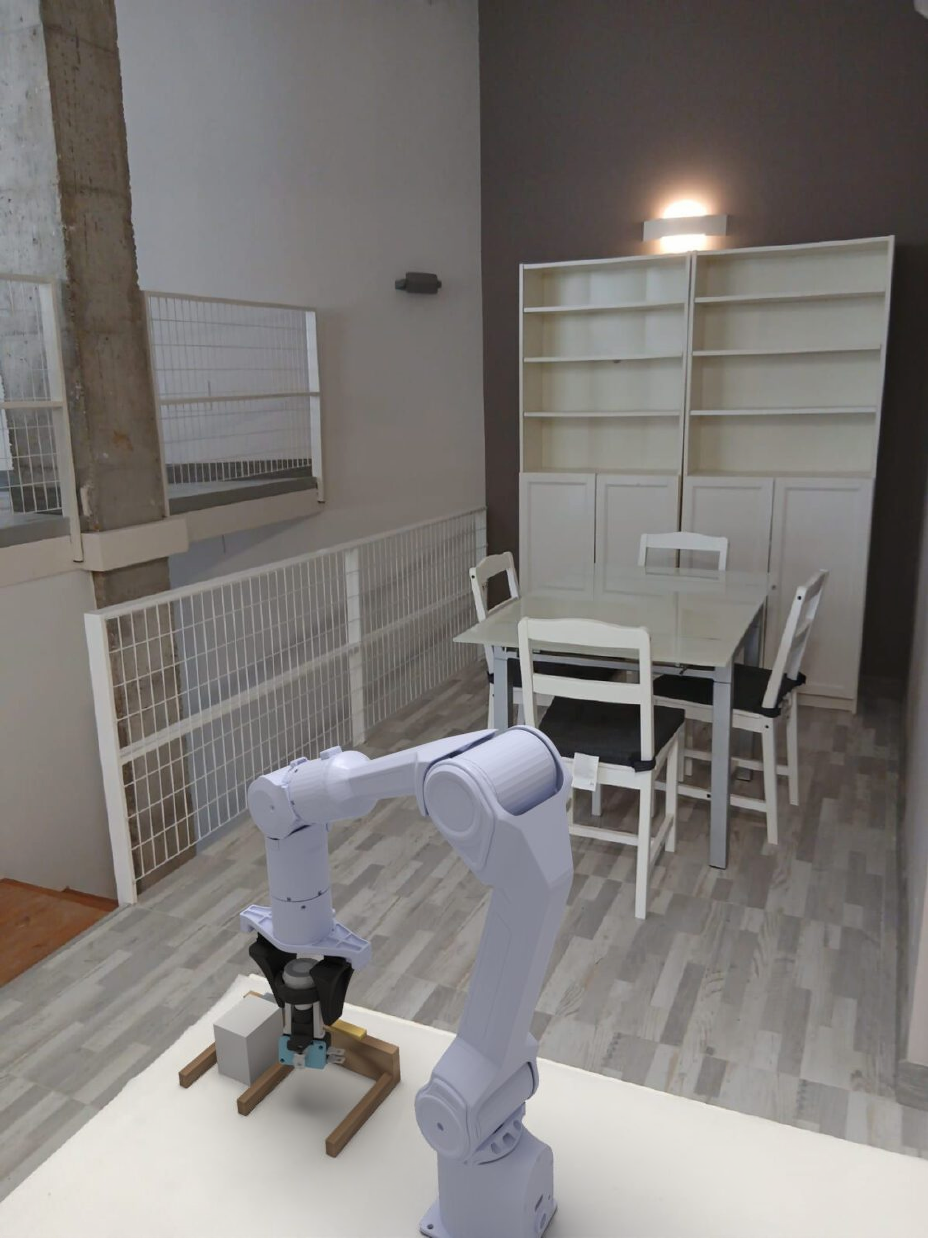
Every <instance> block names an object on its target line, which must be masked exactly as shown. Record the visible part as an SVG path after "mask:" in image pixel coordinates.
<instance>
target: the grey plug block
mask: <svg viewBox="0 0 928 1238" xmlns="http://www.w3.org/2000/svg"><path fill="white" fill-rule="evenodd" d="M212 1026H213V1035H214V1042H215V1046H216V1055H217V1062H216V1063H217V1071H218V1073H219V1074H221V1075H223V1076H226V1077H228V1078H230V1079H232V1080H235V1081H237V1082H238V1083H241V1084H243V1085H245V1086H247V1087H250V1086H251V1085H252V1084H253V1083H254V1082H256V1081H257V1080H258V1079H259V1078H260V1077H261V1076H262V1075H263V1074H264V1073H265V1072H266V1071H267V1070H268V1069H269V1068H270V1067H271V1066H272V1065H273V1064H274V1063H276V1062H277V1061H278V1060H279V1039H280V1038H281V1036H282V1035H283V1033H284V1032H283V1017H282V1008H280V1007H278V1005H277V1004H275V1003H272V1002H270V1001H267V1000H264V999H262V998H259V997H257V996H254V995H252V994H249V995H247V996H246V997H245V998H243V999H241V1000H240V1001H239V1002H238V1003H237V1004H235V1005H234V1006H233V1007H231V1008H230V1009H229V1010H228V1011H227V1012H226V1013H224V1014H223V1015H222V1016H221V1017H219V1018H218V1019H217V1020H216V1021H215V1022H213V1023H212Z"/></svg>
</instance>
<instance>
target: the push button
mask: <svg viewBox="0 0 928 1238" xmlns="http://www.w3.org/2000/svg"><path fill="white" fill-rule="evenodd" d="M319 961H320V960H318V959H314V958H313V957H299V958H297V959H295V960H292V961H290V962H289V963H287V965H285V967H284V968H283V969H282V970H280V971H279V972H278V973H277V975H276V977H275V986H276V988H277V989H278V996H279V997H280V998H281V999H282V1000H283V1001H284V1002H285V1022H286V1026H285V1027H284V1029H283V1032H284V1033H283V1035H282V1036H281V1038H280V1039H279V1062H280V1063H281V1064H287V1065H294V1067H295V1069H296V1070H301V1071H304V1070H305V1069H306V1068H309V1069H316V1070H324V1069H325V1067H326V1066H327V1063H328V1064H332V1063H333V1062H334V1063H333V1064H335V1063H341V1064H342V1063H343V1062H344V1060H345V1058H342V1057H335V1055H332V1054H337V1055H343V1053H344V1051H345V1050H344V1049H338V1048H335V1047H331V1033H330V1032H325V1030H323V1024H322V1015H321V1006H320V999H319V995H318V991H317V988H316V985H315V983H314V981H313V979H312V978H311V976H310V975H309V970H310V969H311V968H312V967H313V966H315V965H316V964H317V963H318V962H319ZM337 1051H341V1052H340V1053H338V1052H337ZM338 1059H341V1061H337V1060H338Z"/></svg>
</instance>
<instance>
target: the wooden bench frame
mask: <svg viewBox="0 0 928 1238" xmlns="http://www.w3.org/2000/svg"><path fill="white" fill-rule="evenodd" d="M249 994H252V995H254V996H257V997H259V998H262V999H264V1000H267V1001H270V1002H272V1003H275V1004H277V1002H276V1000H275V997H274V995H273V993H272V992H271V993H270V992H268V991H267V992H266V993H264V994H262V993H259V992H256V991H254V990H249V991H248V992H247V993H246V994H244V995H243V999H244V998H245V997H246V996H247V995H249ZM282 1017H283V1029H284V1027H285V1026H286V1022H285V1008H284V1009H282ZM322 1024H323V1030H325V1032H330V1033H331V1047H335V1048H338V1049H344V1050H345V1051H344V1053H343V1055H337V1054H332V1055H335V1057H342V1058H345V1060H344V1062H343V1063H342V1064H341V1063H334V1062H332V1063H333V1064H336V1065H338V1066H340V1067H342V1068H345V1069H347V1070H351V1071H353V1072H356V1073H357V1074H360V1075H363V1076H365V1077H367V1078H369V1079H373V1080H375V1081H376V1082H375V1083H374V1084H373V1085H372V1086H371V1088H370V1089H369V1090H368V1091H367V1092H366V1093H365V1094H364V1096H363V1097H362V1098H361V1099H360V1100H359V1101H358V1102H357V1104H355V1106H354V1107H353V1108H352V1109H351V1110H350V1112H349V1113H348V1114H347V1115H346V1116H345V1117H344V1118H343V1120H342V1121H340V1123H339V1124H338V1125H337V1126H336V1127H335V1128H334V1130H333V1131H332V1132H331V1133H330V1134H329V1135H328V1136H327V1137H326V1138H325V1140H324V1142H325V1154H326V1155H328V1156H330V1157H333V1158H336V1157H337V1156H338V1155H339V1153H340V1152H341V1151H342V1150H343V1149H344V1148H345V1147H346V1145H347V1144H348V1143H349V1142H350V1141H351V1140H352V1138H353V1137H354V1136H355V1134H356V1133H357V1132H359V1130H360V1129H361V1128H362V1127H363V1125H364V1124H365V1123H366V1122H367V1120H369V1118H370V1117H371V1115H373V1113H374V1112H375V1111H376V1110H377V1109H378V1108H379V1106H380V1105H381V1104H382V1103H383V1102H384V1100H385V1099H386V1098H387V1097H388V1096H389V1094H391V1092H392V1091H393V1090H394V1088H396V1086H398V1084H399V1083H400V1082H401V1079H402V1078H401V1059H400V1046H399V1045H395V1044H392V1043H390V1042H387V1041H385V1040H382V1039H381V1038H376V1037H374V1036H372V1035H369V1034H368V1031H367V1029H366V1028H363V1027H361V1026H358V1025H355V1024H353V1023H350V1022H347V1021H345V1020H343V1019H340V1018H339V1019H338V1020H337V1021H336V1022H335V1023H334V1024H333V1025H332V1026H327V1025H324V1022H323V1019H322ZM337 1052H338V1053H340V1052H341V1051H337ZM337 1061H341V1059H338V1060H337ZM216 1063H217V1055H216V1046H215V1041H214V1042H213V1043H212V1044H210V1045H209V1046H207V1048H205V1049H204V1050H203V1051H202V1052H201V1053H200V1054H198V1055H197V1056H196V1057H195V1058H194V1059H193V1060H192V1061H190V1062H189V1063H188V1064H187V1065H186V1066H184V1067H183V1068H182V1069H181V1070H180V1071H178V1080H179V1081H178V1082H179V1086H182V1087H184V1088H185V1089H188V1088H189V1087H190V1086H191V1085H192V1084H193V1083H195V1081H197V1080H198V1079H199V1078H200V1077H201V1076H202V1075H204V1074H205V1073H206V1072H207V1071H208V1070H210V1069H211V1068H212V1067H213V1066H214V1065H215V1064H216ZM294 1068H295V1067H294V1065H287V1064H281V1063H280V1062H279V1060H278V1061H277V1062H276V1063H274V1064H273V1065H272V1066H271V1067H270V1068H269V1069H268V1070H267V1071H266V1072H265V1073H264V1074H263V1075H262V1076H261V1077H260V1078H259V1079H258V1080H257V1081H256V1082H254V1083H253V1084H252V1085H251V1086H248V1088H247V1089H246V1090H245V1091H244V1092H242V1094H241V1095H240V1096H239V1097H238V1098H237V1099H236V1106H237V1107H236V1109H237V1113H239V1114H241V1115H243V1116H247V1115H248V1114H249V1113H250V1112H251V1111H252V1110H253V1109H254V1108H255V1107H257V1105H258V1104H259V1103H260V1102H261V1101H263V1099H264V1098H265V1097H266V1096H267V1095H269V1093H270V1092H271V1091H272V1090H273V1089H274V1088H275V1087H277V1086H278V1084H279V1083H280V1082H282V1081H283V1079H285V1077H287V1075H289V1074H290V1073H291V1072H292V1071H293V1070H294ZM295 1069H296V1068H295Z"/></svg>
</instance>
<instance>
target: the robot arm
mask: <svg viewBox="0 0 928 1238" xmlns="http://www.w3.org/2000/svg"><path fill="white" fill-rule="evenodd" d="M499 730H500V729H499V728H488V729H487V728H486V729H482V730H481V729H480V730H476V731H471V732H468V733H464V734H458V735H452V736H449V737H445V738H439V739H437V740H435V741H434V740H433V741H431V742H426V743H424V744H421V745H417V746H413V747H411V748H408V749H407V748H406V749H403V750H401V751H398V752H397V751H396V752H394V753H389V754H386V755H383V756H380V757H377V758H374V759H370V758H369V756H367V755H366V754H364V753H362V752H360V751H357V750H344V751H343V750H342V747H341V746H340V745H337V746H332V747H330V748H328V749H324V750H322V751H320V752H319V757H318V758H315V759H308V758H307V757H306V756H301V757H298V758H296V759H294V760H291V761H290V762H289V765H287V766H284V767H282V768H279V769H277V770H274V771H272V772H270V773H267V774H263V775H259V776H258V777H257V778H256V779H255V780H253V781H252V782H251V783H250V784H249V786H248V788H247V789H248V790H247V797H246V799H247V807H248V810H249V814H250V816H251V819H252V821H253V823H254V824H255V825H256V826H257V828H258V830H260V832H261V833H262V834H263V835H264V837H263V838H264V844H265V845H264V846H265V847H264V849H265V856H266V859H265V860H266V870H267V878H268V879H267V881H268V889H269V891H268V892H269V901H270V906H269V907H268V906H261V905H256V904H251V905H250V906H248V907H247V908H245V909H244V910H243V911H241V912H240V913H239V922H240V923H239V925H240V931H241V932H244V933H247V934H250V933H252V932H253V931H255V932H256V934H257V937H256V939H255V941H253V943H252V944H251V945H250V946H249V947H248V955H249V957H251V959H252V960H253V961H254V962H255V963H256V965H257V966H258V967H259V969H260V970H261V971H262V973H263V976H264V977H265V979H266V981H267V983H268V985H269V988H270V991H271V993H272V994H273V995H274V997H275V1000H276V1002H277V1005H278V1007H280V1008H282V1009H284V1008H285V1002H284V1001H283V1000H282V999H281V998H280V997H279V996H278V989H277V988H276V986H275V977H276V975H277V973H278V972H279V971H280V970H282V969H283V968H284V967H285V965H287V963H289V962H290V961H292V960H295V959H298V958H297V957H298V954H301V955H302V954H303V955H304V954H305V955H314V956H315V955H318V956H323V958H322V959H321V960H318V961H319V962H318V963H317V964H316V965H315V966H313V967H312V968H311V969H310V970H309V975H310V976H311V978H312V979H313V981H314V983H315V985H316V988H317V991H318V995H319V999H320V1006H321V1015H322V1019H323V1022H324V1025H327V1026H332V1025H333V1024H334V1023H335V1022H336V1021H337V1020H338V1019H340V1018H341V1017H342V1015H343V1011H344V1007H345V1005H344V1004H345V1000H346V996H347V991H348V988H349V985H350V981H351V980H352V976H353V974H354V971H355V970H356V971H359V972H362V970H363V969H364V968H366V967H367V966H368V965H369V963H371V962H372V961H373V950H372V949H373V948H372V942H371V941H369V940H366V939H363V938H362V937H360V936H359V935H357V934H355V933H354V932H353V931H351V929H349V928H347V926H345V925H343V924H342V923H341V922H340V921H338V920H337V919H335V918H336V916H337V915H336V914H337V913H336V909H335V908H333V900H332V899H333V898H332V886H331V885H332V884H331V875H330V874H331V873H330V860H329V859H330V858H329V844H328V835H329V834H330V833H331V830H332V831H333V823H334V822H340V821H346V820H347V821H348V820H352V819H358V818H362V817H364V816H366V815H368V814H369V813H370V812H372V810H373V809H374V808H375V806H376V805H377V803H378V801H379V800H384V799H385V800H386V799H391V798H402V797H409V796H415V799H416V803H417V806H418V809H419V812H420V815H421V816H422V817H424V818H428V817H429V818H430V819H431V821H432V822H433V824H434V826H435V827H436V828H437V830H438V831H439V832H440V833H439V834H441V835H442V836H443V838H444V839H445V840H446V841H447V843H448V844H449V845H450V846H451V848H452V849H453V850H454V851H455V852H456V853H457V855H458V856H459V857H460V859H461V860H462V861H463V862H464V864H465V865H466V866H467V868H469V870H470V871H471V873H472V874H473V875H474V876H475V877H476V878H477V880H478V881H479V882H480V883H481V884H483V885H488V886H493V888H492V893H491V896H490V897H491V898H490V901H489V905H488V910H487V914H486V915H485V916H486V917H485V921H484V924H483V929H482V933H481V937H480V941H479V945H478V948H477V953H476V957H475V960H474V965H473V969H472V973H471V976H470V980H469V985H468V989H467V994H466V998H465V1001H464V1005H463V1008H462V1013H461V1017H460V1021H459V1025H458V1029H457V1033H456V1035H455V1037H454V1038H453V1041H452V1042H450V1045H449V1046H448V1047H447V1049H446V1050H445V1051H444V1052H443V1054H442V1055H441V1057H440V1059H439V1060H438V1061H437V1063H436V1064H435V1065H434V1067H433V1069H432V1070H431V1073H430V1078H429V1080H428V1082H427V1083H426V1084H424V1085H423V1086H421V1087H420V1088H419V1089H418V1090H417V1092H416V1094H415V1096H414V1105H413V1106H414V1113H415V1119H416V1122H417V1127H418V1128H419V1131H420V1133H421V1135H422V1136H423V1138H424V1139H425V1141H426V1143H427V1144H428V1145H429V1146H430V1147H431V1149H433V1150H434V1151H435V1152H436V1159H437V1163H436V1164H437V1184H438V1188H437V1189H438V1195H437V1198H436V1199H435V1200H434V1202H433V1203H432V1204H431V1206H430V1207H429V1209H428V1211H427V1212H425V1213H426V1214H425V1215H424V1216H423V1218H422V1219H421V1221H420V1223H419V1230H420V1232H421V1233H423V1234H425V1235H426V1236H427V1235H428V1236H429V1237H431V1238H541V1237H542V1236H543V1233H544V1232H545V1230H546V1228H547V1227H548V1224H549V1223H550V1220H551V1219H552V1217H553V1215H554V1213H555V1211H556V1209H557V1208H558V1200H557V1199H555V1197H554V1195H555V1193H554V1188H555V1187H554V1185H555V1183H554V1151H553V1149H552V1147H551V1146H550V1145H548V1144H547V1143H546V1142H544V1141H543V1140H540V1139H539V1138H538V1137H536V1136H535V1135H534V1134H533V1133H532V1132H530V1131H529V1129H528V1128H527V1127H526V1126H525V1125H524V1124H523V1119H524V1117H525V1116H526V1112H527V1110H526V1109H527V1108H526V1107H527V1106H526V1103H527V1102H526V1101H528V1100H530V1099H531V1098H532V1097H533V1096H534V1095H535V1094H536V1093H537V1090H538V1088H539V1084H540V1076H539V1075H540V1074H539V1069H538V1064H537V1056H538V1052H539V1048H540V1043H539V1042H538V1041H537V1040H536V1038H535V1037H534V1036H533V1035H532V1033H531V1032H530V1028H531V1025H532V1020H533V1017H534V1014H535V1010H536V1007H537V1003H538V1001H539V1000H538V999H539V997H540V994H541V990H542V987H543V983H544V980H545V977H546V973H547V969H548V966H549V963H550V960H551V956H552V952H553V949H554V946H555V942H556V940H557V935H558V932H559V929H560V926H561V922H562V919H563V916H564V913H565V908H566V906H567V902H568V898H569V894H570V891H571V889H572V886H573V880H574V873H575V871H574V870H575V869H574V862H573V861H574V860H573V853H572V846H571V835H570V829H569V823H568V822H569V821H568V815H567V814H568V813H567V807H566V805H567V801H568V797H569V794H570V791H571V787H572V783H573V779H574V777H573V775H572V773H571V771H570V770H569V768H568V766H567V764H566V763H565V761H564V759H563V758H562V756H561V754H560V752H559V750H558V749H557V747H556V746H555V744H554V742H553V741H552V739H550V738H549V737H548V736H547V735H546V734H545V733H544V732H543V731H541V730H540V729H538V728H536V727H534V726H531V725H526V724H518V725H514V726H511V727H509V728H506V729H505V730H504V731H503V732H502V733H501V734H499V735H497V736H496V734H497V733H498V732H499Z"/></svg>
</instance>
